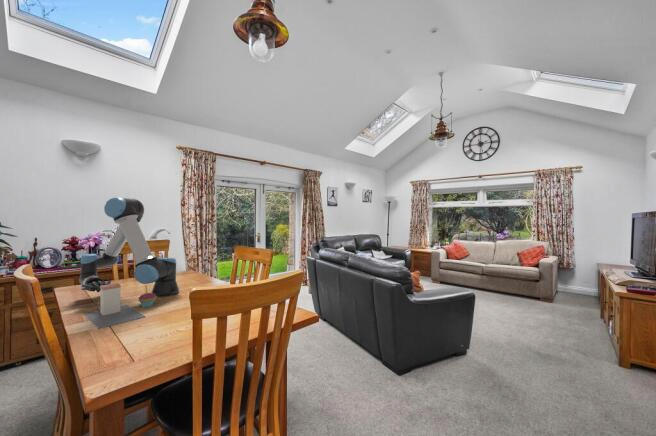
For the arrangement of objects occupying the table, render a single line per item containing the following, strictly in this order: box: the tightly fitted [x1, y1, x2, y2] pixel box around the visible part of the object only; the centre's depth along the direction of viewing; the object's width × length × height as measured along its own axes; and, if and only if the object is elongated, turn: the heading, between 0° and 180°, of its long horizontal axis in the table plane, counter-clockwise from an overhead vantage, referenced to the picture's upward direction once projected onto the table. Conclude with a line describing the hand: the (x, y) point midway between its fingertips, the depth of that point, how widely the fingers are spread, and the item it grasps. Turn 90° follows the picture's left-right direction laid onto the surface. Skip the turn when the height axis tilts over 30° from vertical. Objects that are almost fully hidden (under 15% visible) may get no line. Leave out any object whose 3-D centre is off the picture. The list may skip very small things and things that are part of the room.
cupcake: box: [138, 284, 158, 308], centre depth 149 cm, size 9×8×12 cm
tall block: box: [99, 282, 122, 315], centre depth 137 cm, size 5×7×14 cm
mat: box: [83, 304, 147, 330], centre depth 134 cm, size 28×18×1 cm, turn 53°
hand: (105, 290), depth 140 cm, fingers closed
